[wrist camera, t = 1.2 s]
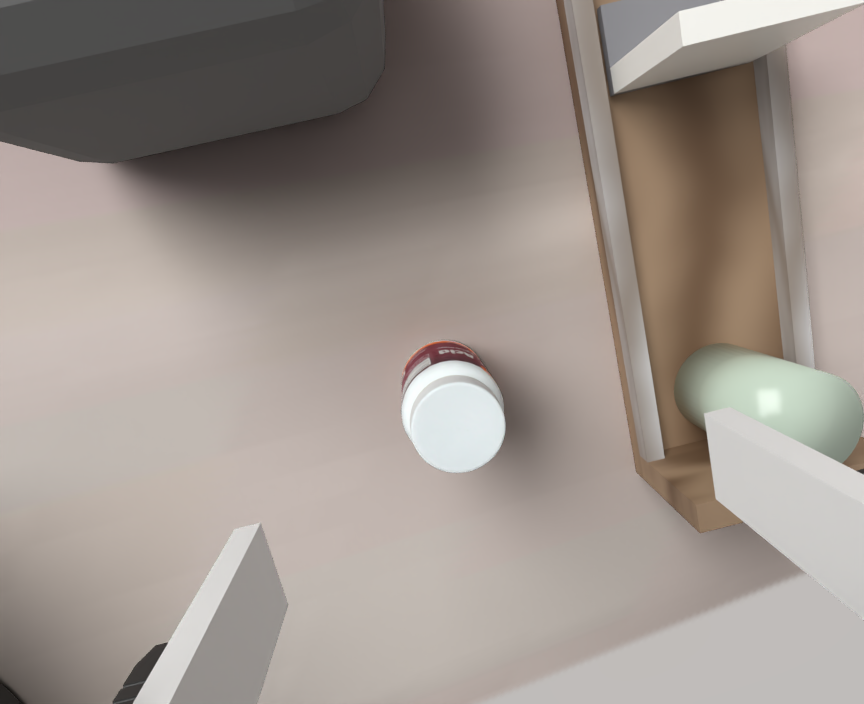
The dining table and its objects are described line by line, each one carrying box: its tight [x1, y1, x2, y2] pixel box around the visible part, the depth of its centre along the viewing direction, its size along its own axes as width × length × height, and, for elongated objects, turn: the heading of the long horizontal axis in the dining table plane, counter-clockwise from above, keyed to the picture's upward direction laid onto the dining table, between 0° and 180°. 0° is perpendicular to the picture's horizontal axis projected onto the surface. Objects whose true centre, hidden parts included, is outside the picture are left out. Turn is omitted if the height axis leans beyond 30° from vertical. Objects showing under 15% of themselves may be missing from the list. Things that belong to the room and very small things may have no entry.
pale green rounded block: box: [674, 343, 864, 463], centre depth 27 cm, size 5×5×7 cm
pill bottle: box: [401, 340, 506, 473], centre depth 26 cm, size 5×5×8 cm
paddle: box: [597, 0, 864, 97], centre depth 23 cm, size 7×4×7 cm, turn 103°
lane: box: [556, 0, 864, 533], centre depth 26 cm, size 10×27×7 cm, turn 13°
